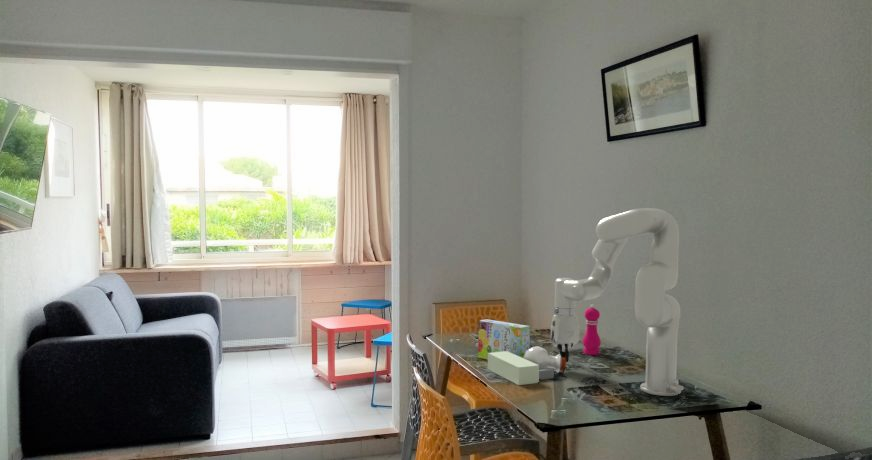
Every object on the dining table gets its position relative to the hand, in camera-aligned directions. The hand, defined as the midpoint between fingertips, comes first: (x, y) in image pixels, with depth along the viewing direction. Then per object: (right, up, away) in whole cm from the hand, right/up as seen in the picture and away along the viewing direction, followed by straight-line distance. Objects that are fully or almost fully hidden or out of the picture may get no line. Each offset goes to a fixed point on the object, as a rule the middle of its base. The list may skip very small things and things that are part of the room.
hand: (564, 361), depth 234 cm
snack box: (-21, -3, +12) cm, 24 cm away
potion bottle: (-8, -3, -4) cm, 9 cm away
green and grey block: (-16, -3, -7) cm, 18 cm away
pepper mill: (+16, -2, +26) cm, 31 cm away
